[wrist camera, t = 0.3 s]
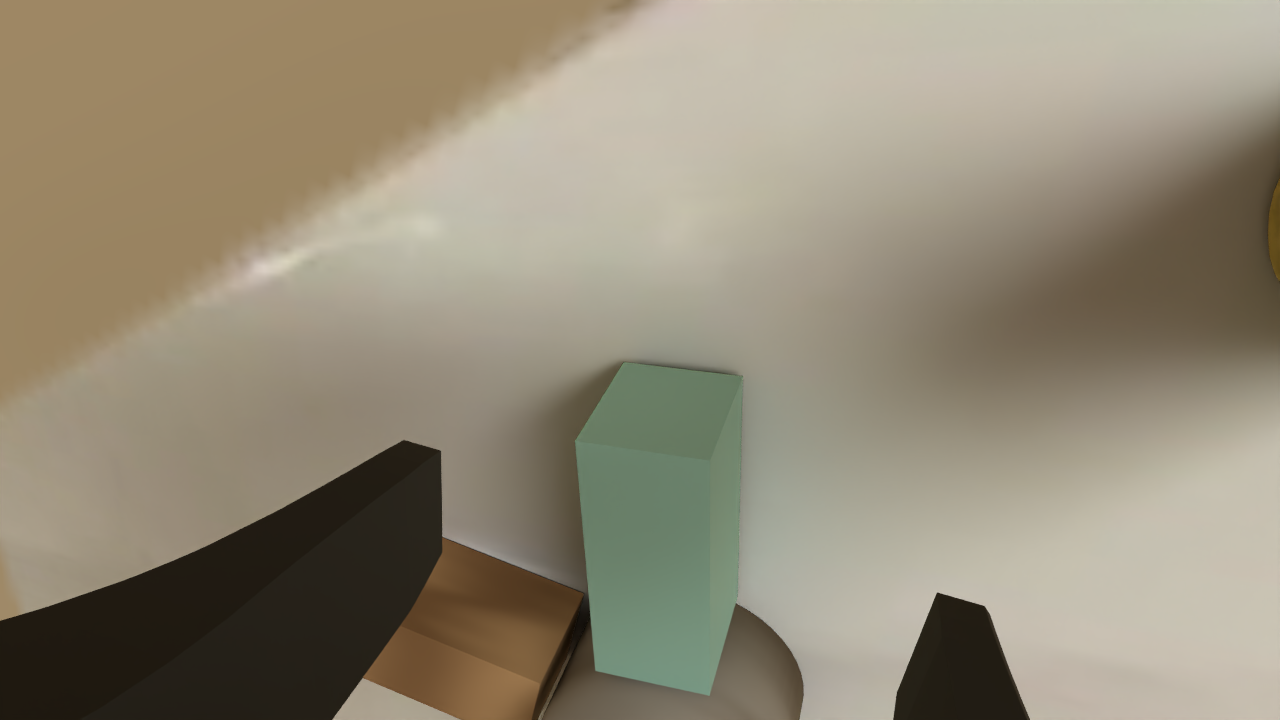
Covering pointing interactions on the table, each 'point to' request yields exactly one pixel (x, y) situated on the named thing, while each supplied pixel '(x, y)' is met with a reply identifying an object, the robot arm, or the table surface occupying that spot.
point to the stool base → (558, 655)
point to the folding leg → (662, 522)
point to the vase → (1275, 231)
